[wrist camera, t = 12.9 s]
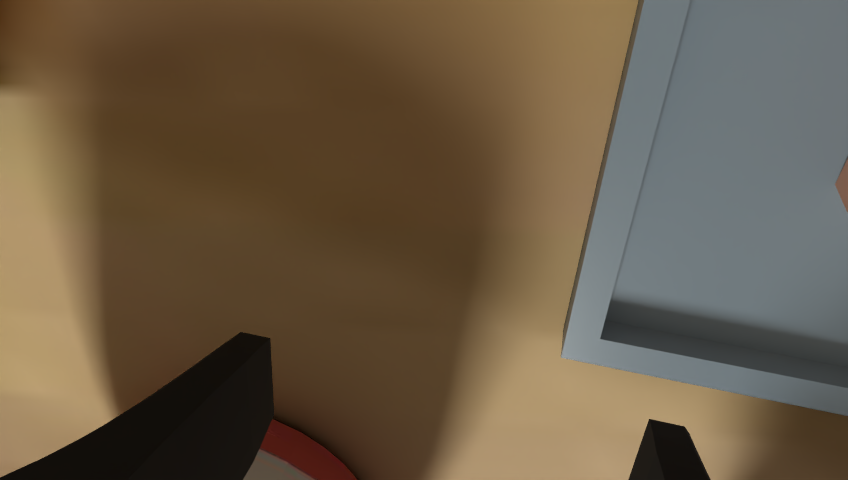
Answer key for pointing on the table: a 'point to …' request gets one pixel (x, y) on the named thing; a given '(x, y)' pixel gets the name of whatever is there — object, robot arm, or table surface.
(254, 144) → the table surface
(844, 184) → the long salmon pink stick
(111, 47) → the table surface
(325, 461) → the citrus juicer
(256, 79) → the table surface
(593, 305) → the tray
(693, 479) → the robot arm
